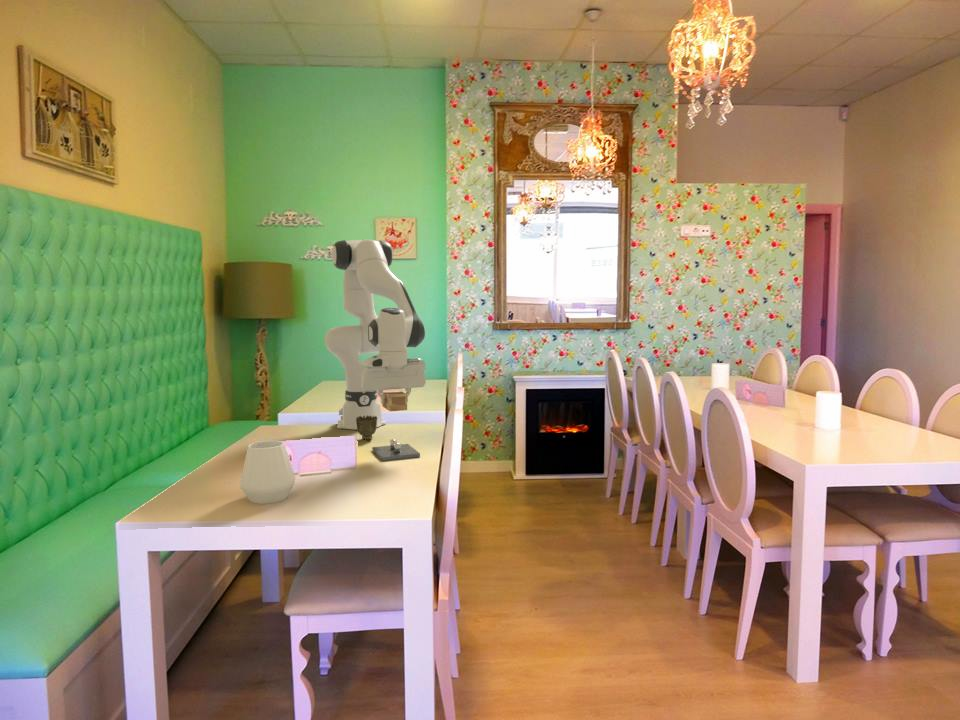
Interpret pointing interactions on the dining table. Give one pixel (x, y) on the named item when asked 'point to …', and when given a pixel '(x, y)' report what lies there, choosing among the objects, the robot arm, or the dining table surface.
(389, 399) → the block
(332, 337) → the robot arm
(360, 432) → the cup
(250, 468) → the cream vase
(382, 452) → the slate base plate
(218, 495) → the dining table surface
